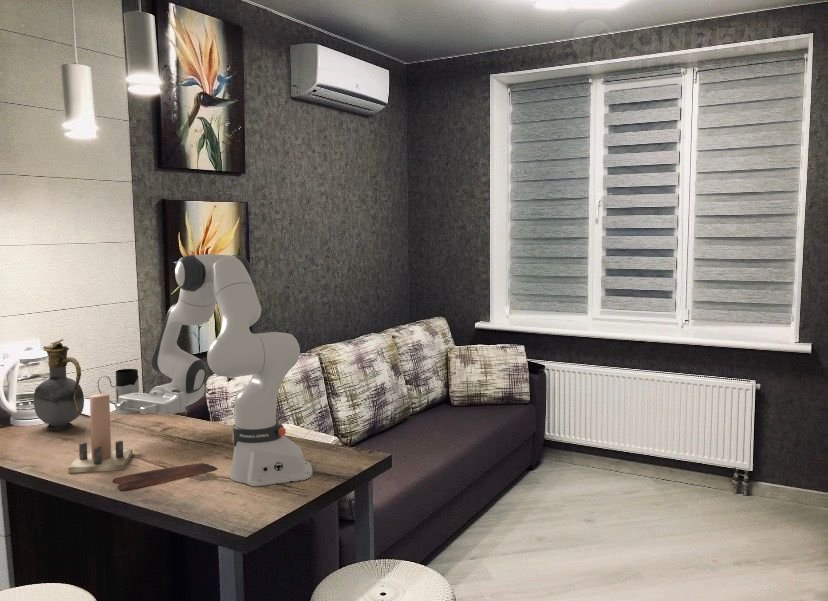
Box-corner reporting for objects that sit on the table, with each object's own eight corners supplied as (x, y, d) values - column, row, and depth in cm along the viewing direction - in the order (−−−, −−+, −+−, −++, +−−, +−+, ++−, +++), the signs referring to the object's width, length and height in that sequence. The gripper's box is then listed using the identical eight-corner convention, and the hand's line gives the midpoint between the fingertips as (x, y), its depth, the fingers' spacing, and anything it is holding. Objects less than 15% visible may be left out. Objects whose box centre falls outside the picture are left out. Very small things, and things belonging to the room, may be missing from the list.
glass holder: (142, 412, 251) (141, 371, 249) (99, 417, 244) (98, 375, 242) (138, 407, 258) (138, 367, 257) (97, 411, 252) (96, 370, 250)
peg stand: (132, 453, 205) (131, 434, 204) (123, 469, 191) (122, 448, 191) (81, 456, 202) (80, 436, 201) (68, 472, 188) (67, 451, 188)
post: (112, 454, 199) (111, 393, 198) (109, 460, 195) (107, 397, 193) (94, 455, 198) (92, 394, 197) (90, 461, 194) (87, 398, 192)
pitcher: (60, 420, 239) (57, 334, 236) (96, 429, 229) (93, 339, 226) (29, 428, 229) (26, 339, 226) (66, 437, 220) (62, 344, 217)
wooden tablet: (206, 458, 200) (220, 463, 192) (206, 465, 200) (220, 471, 192) (109, 478, 183) (120, 484, 175) (110, 486, 183) (121, 493, 175)
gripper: (137, 385, 222) (103, 395, 209) (188, 392, 214) (155, 402, 201) (137, 405, 222) (103, 415, 210) (188, 412, 214) (156, 423, 202)
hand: (129, 409), depth 205 cm, fingers open, 8 cm apart
